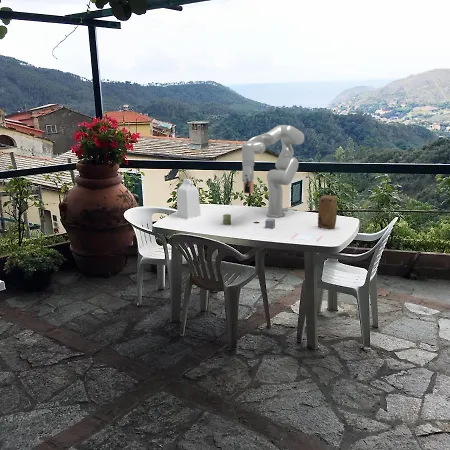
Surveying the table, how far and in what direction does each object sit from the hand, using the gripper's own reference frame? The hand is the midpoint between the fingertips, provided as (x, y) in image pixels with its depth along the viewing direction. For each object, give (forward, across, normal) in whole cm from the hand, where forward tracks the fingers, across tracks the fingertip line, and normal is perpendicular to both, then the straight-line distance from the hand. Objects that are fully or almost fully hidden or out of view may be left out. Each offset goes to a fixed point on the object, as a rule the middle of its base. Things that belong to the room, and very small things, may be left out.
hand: (248, 191), depth 287 cm
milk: (+22, -9, -47) cm, 53 cm away
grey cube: (+22, +4, +15) cm, 27 cm away
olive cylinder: (+21, +4, -14) cm, 26 cm away
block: (+22, -4, +49) cm, 54 cm away
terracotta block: (+1, 0, 0) cm, 1 cm away
